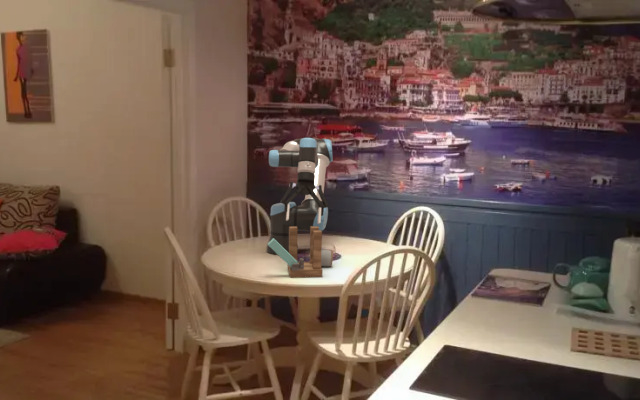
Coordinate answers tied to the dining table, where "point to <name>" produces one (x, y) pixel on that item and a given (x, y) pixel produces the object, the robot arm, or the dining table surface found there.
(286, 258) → the hinged leg
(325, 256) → the ceramic mug
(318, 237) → the upturned wooden stool
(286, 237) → the robot arm
